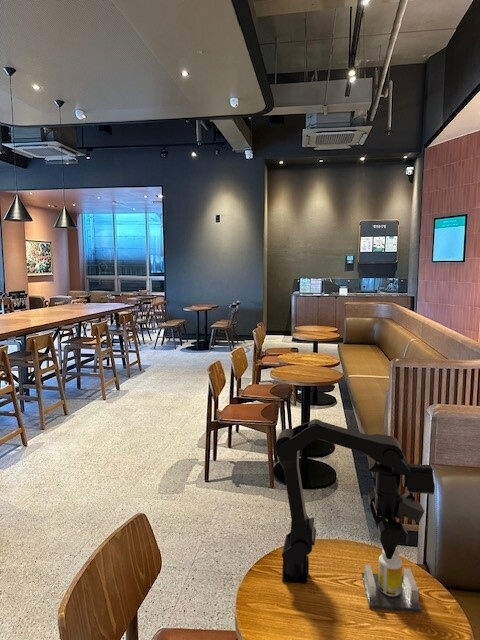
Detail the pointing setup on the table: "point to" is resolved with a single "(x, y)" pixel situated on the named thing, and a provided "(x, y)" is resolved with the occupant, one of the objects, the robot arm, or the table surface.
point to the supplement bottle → (390, 574)
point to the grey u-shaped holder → (397, 603)
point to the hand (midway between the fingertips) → (385, 546)
